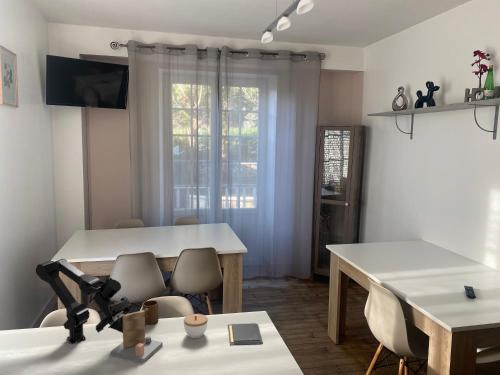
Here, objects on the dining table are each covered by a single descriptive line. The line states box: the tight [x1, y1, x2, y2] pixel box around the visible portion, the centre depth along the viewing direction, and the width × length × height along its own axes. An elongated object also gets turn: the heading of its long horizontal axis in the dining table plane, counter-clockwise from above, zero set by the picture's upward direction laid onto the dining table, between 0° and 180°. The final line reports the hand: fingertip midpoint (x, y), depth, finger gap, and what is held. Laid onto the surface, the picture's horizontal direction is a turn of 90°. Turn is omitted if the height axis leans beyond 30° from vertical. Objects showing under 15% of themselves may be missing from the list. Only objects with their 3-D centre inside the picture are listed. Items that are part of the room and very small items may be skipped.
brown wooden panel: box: [122, 310, 146, 349], centre depth 163 cm, size 9×2×14 cm, turn 124°
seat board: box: [109, 336, 163, 363], centre depth 163 cm, size 16×14×6 cm
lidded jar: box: [183, 313, 209, 339], centre depth 176 cm, size 11×11×9 cm
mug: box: [141, 299, 159, 326], centre depth 187 cm, size 12×8×9 cm, turn 176°
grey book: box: [227, 322, 264, 346], centre depth 178 cm, size 20×2×15 cm
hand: (127, 333), depth 162 cm, fingers closed
